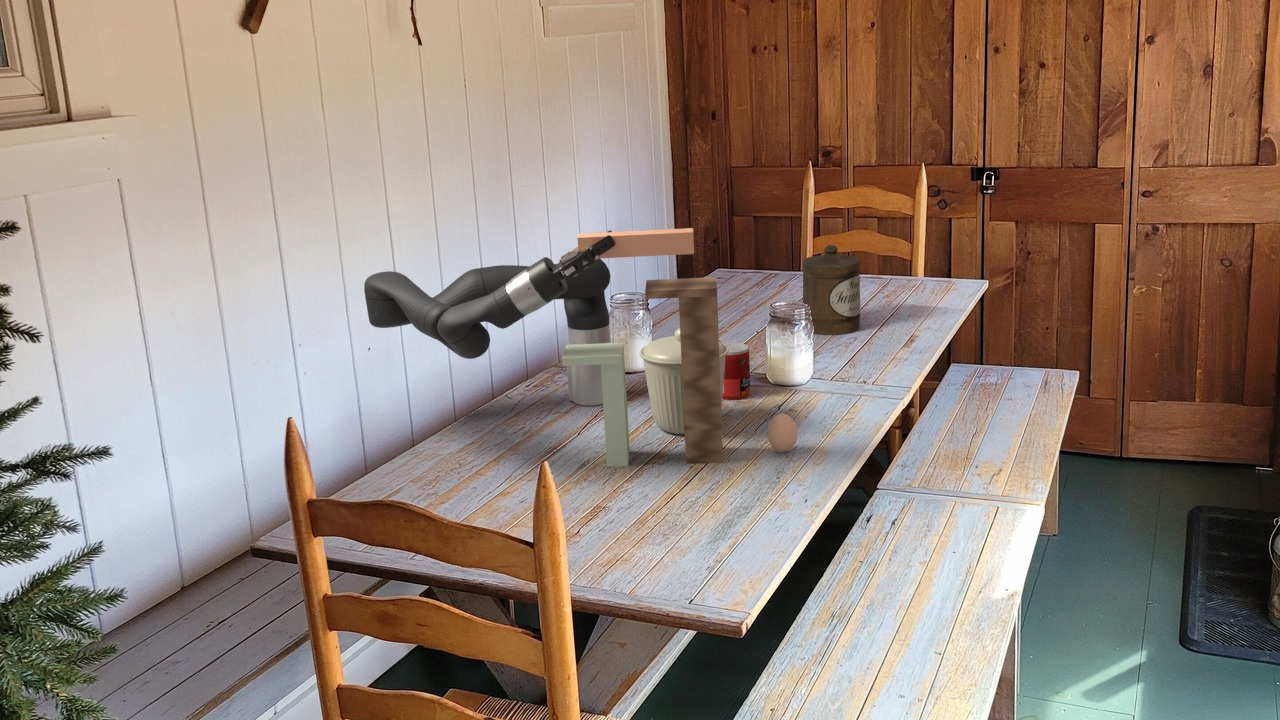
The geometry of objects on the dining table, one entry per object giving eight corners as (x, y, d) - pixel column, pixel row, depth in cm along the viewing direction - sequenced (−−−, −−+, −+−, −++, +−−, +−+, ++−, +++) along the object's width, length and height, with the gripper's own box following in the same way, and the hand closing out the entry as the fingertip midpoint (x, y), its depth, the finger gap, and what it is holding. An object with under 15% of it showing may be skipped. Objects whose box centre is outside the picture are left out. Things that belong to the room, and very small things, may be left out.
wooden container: (846, 337, 306) (846, 252, 300) (793, 332, 314) (792, 249, 308) (869, 323, 318) (869, 241, 312) (817, 318, 326) (816, 238, 320)
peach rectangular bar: (579, 259, 219) (577, 237, 218) (580, 254, 223) (579, 233, 222) (694, 253, 219) (693, 232, 217) (693, 249, 222) (692, 228, 221)
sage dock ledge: (570, 469, 229) (562, 358, 222) (574, 452, 237) (566, 344, 231) (628, 467, 228) (621, 355, 222) (629, 450, 237) (623, 342, 230)
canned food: (748, 400, 262) (747, 352, 259) (712, 400, 264) (710, 352, 261) (752, 389, 269) (751, 342, 266) (716, 389, 271) (715, 342, 268)
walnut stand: (654, 466, 228) (645, 291, 218) (655, 449, 236) (646, 280, 227) (723, 463, 227) (717, 287, 218) (721, 446, 236) (715, 277, 226)
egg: (797, 457, 229) (796, 419, 226) (766, 456, 230) (766, 418, 227) (798, 446, 234) (798, 409, 232) (768, 445, 235) (768, 409, 233)
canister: (670, 448, 237) (665, 345, 231) (628, 423, 252) (622, 326, 246) (748, 429, 244) (745, 329, 238) (702, 406, 260) (698, 312, 254)
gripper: (520, 278, 215) (600, 227, 212) (529, 261, 229) (604, 213, 226) (544, 312, 217) (623, 262, 214) (551, 294, 231) (626, 246, 228)
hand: (613, 237), depth 220 cm, fingers closed on peach rectangular bar, 4 cm apart
